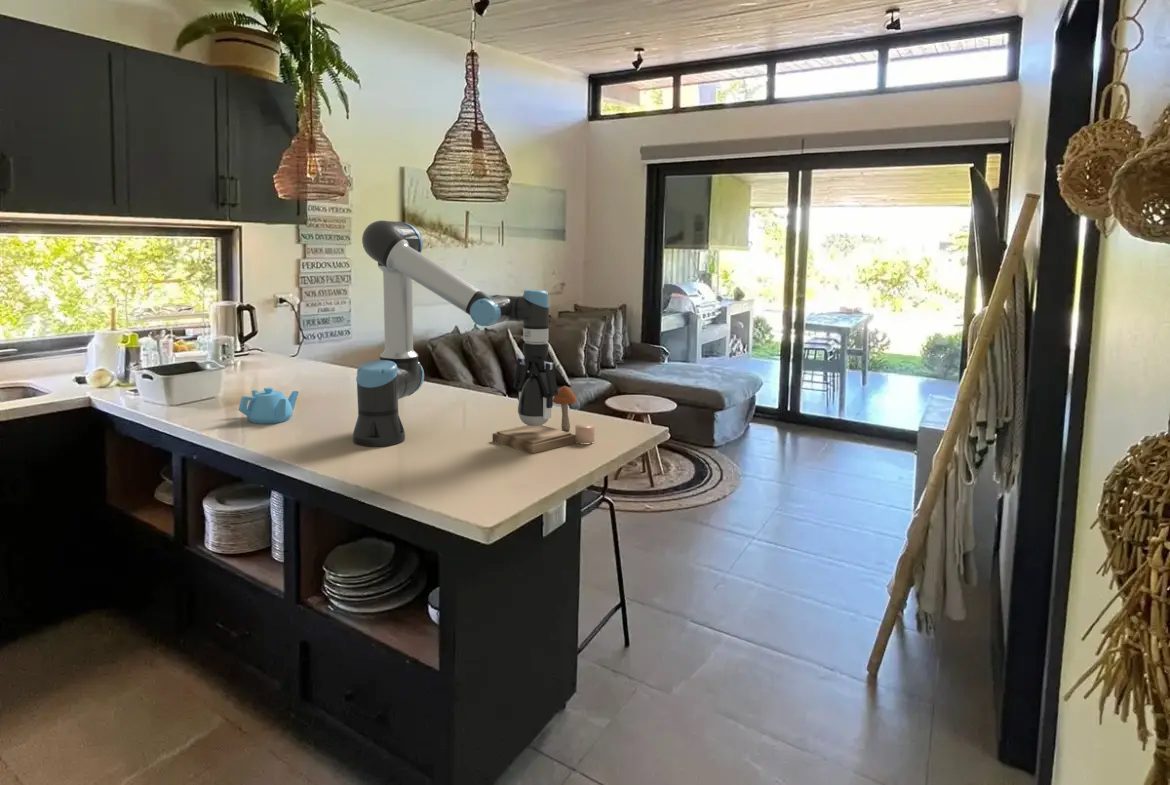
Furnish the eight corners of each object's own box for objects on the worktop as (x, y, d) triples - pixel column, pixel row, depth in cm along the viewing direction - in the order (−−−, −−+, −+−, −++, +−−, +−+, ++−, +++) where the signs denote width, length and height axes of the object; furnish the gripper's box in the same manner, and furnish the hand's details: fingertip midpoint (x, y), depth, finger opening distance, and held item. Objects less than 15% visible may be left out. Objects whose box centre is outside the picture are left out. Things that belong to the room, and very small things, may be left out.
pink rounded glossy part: (571, 441, 222) (571, 426, 221) (583, 438, 226) (584, 422, 225) (585, 445, 218) (586, 429, 217) (598, 441, 222) (598, 426, 221)
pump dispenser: (540, 418, 226) (541, 370, 223) (557, 425, 218) (558, 376, 215) (511, 422, 221) (511, 373, 217) (527, 429, 212) (528, 379, 209)
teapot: (254, 414, 244) (252, 383, 242) (300, 414, 246) (298, 383, 244) (237, 425, 230) (235, 392, 227) (286, 425, 231) (284, 392, 229)
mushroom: (546, 429, 235) (547, 384, 232) (565, 426, 240) (566, 382, 238) (562, 434, 229) (563, 388, 226) (581, 431, 235) (582, 386, 232)
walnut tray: (492, 441, 220) (492, 431, 219) (535, 431, 233) (535, 422, 232) (532, 453, 208) (532, 443, 207) (575, 442, 221) (576, 433, 220)
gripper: (501, 339, 219) (501, 410, 223) (553, 347, 204) (551, 423, 208) (519, 337, 224) (519, 407, 229) (571, 345, 209) (570, 419, 214)
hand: (534, 415), depth 218 cm, fingers closed on pump dispenser, 10 cm apart
